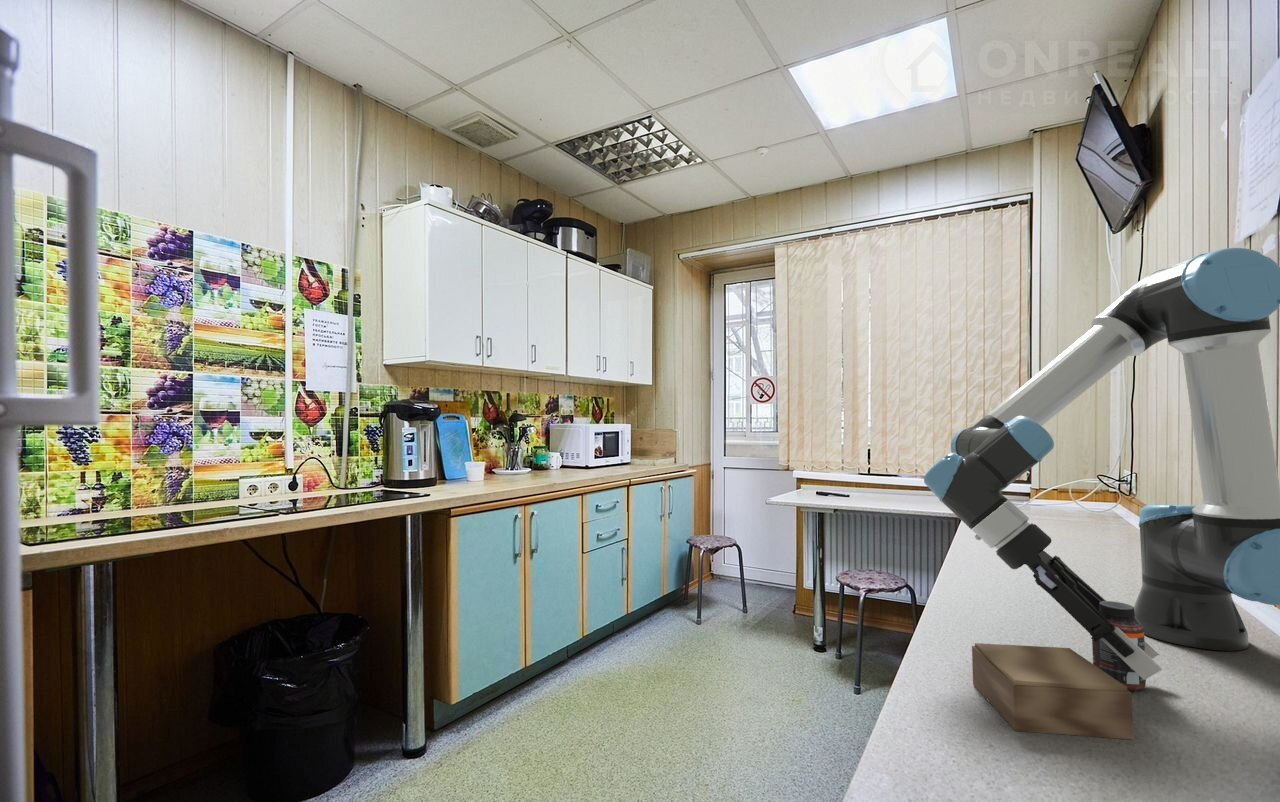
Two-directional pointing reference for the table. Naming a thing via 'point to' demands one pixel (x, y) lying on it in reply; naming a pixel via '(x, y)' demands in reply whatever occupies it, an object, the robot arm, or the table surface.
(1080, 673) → the block
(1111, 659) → the supplement bottle
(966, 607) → the table surface
